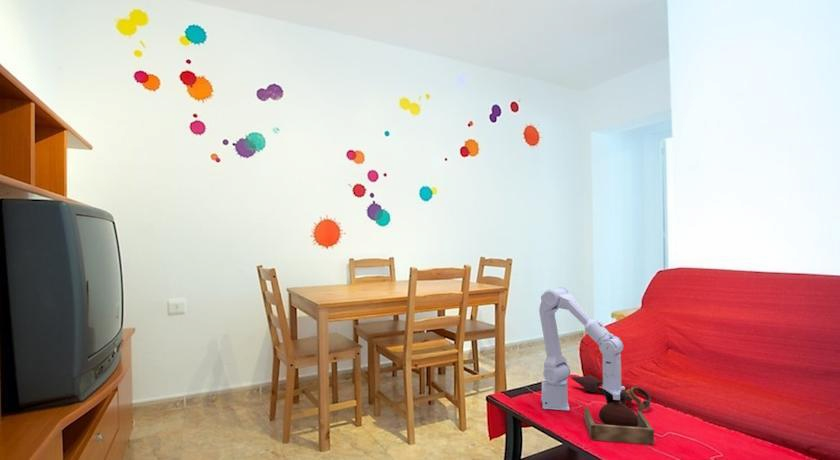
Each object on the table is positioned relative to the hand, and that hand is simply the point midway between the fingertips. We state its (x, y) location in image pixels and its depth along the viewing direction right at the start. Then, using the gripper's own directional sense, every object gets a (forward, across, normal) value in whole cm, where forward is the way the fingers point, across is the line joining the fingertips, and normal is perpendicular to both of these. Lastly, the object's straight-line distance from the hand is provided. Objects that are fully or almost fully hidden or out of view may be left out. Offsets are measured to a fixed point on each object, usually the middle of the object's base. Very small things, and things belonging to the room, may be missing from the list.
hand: (612, 413), depth 147 cm
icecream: (+4, +30, +3) cm, 30 cm away
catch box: (+3, -6, 0) cm, 7 cm away
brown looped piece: (+4, +16, -10) cm, 19 cm away
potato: (+3, -6, 0) cm, 7 cm away
